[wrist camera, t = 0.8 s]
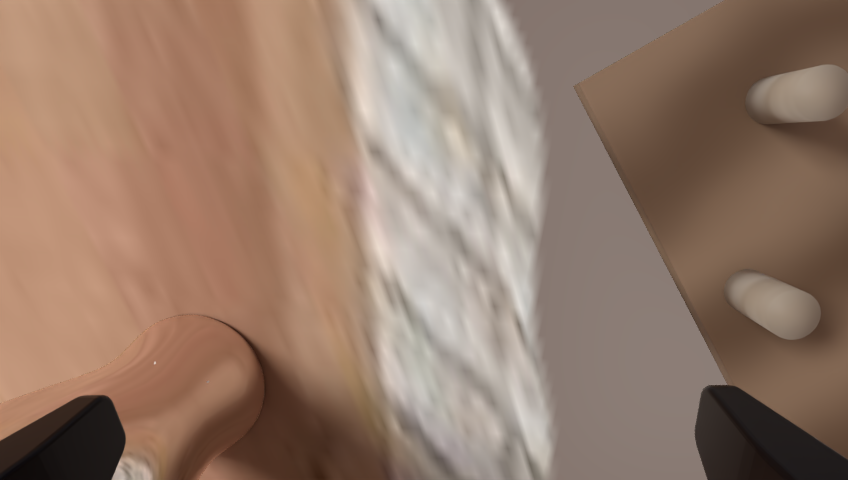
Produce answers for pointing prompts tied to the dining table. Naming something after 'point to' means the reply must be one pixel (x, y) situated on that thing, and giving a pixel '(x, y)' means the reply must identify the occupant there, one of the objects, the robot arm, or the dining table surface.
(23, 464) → the robot arm
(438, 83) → the dining table surface
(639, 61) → the walnut board
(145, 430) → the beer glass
